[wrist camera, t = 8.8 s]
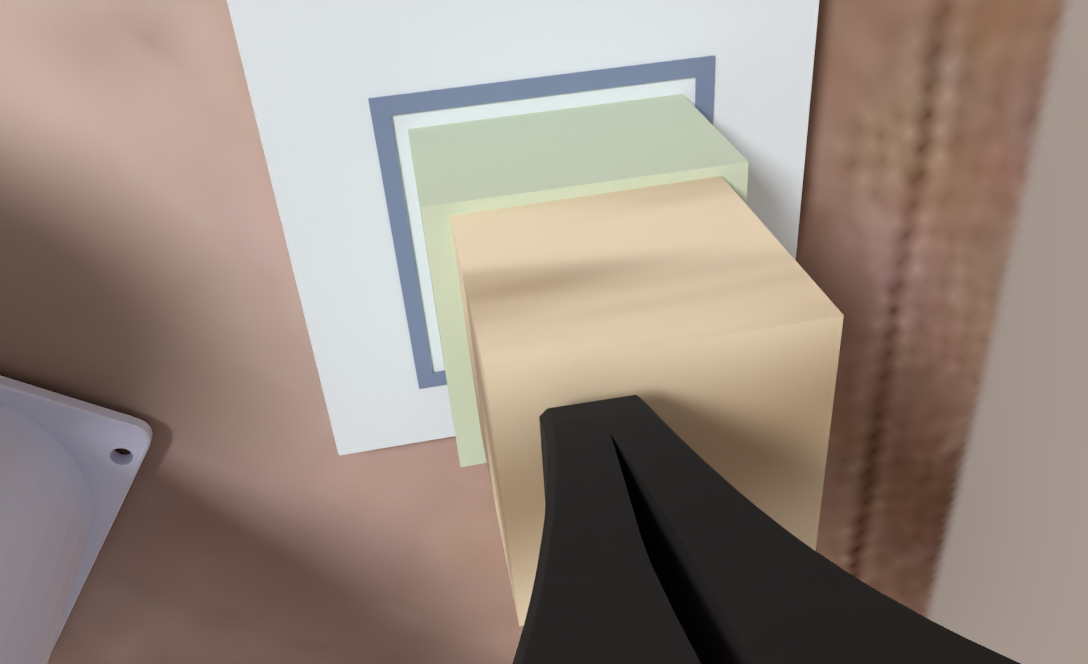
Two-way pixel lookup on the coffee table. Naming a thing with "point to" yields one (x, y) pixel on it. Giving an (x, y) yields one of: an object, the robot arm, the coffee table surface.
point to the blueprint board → (466, 95)
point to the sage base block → (546, 191)
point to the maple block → (647, 343)
